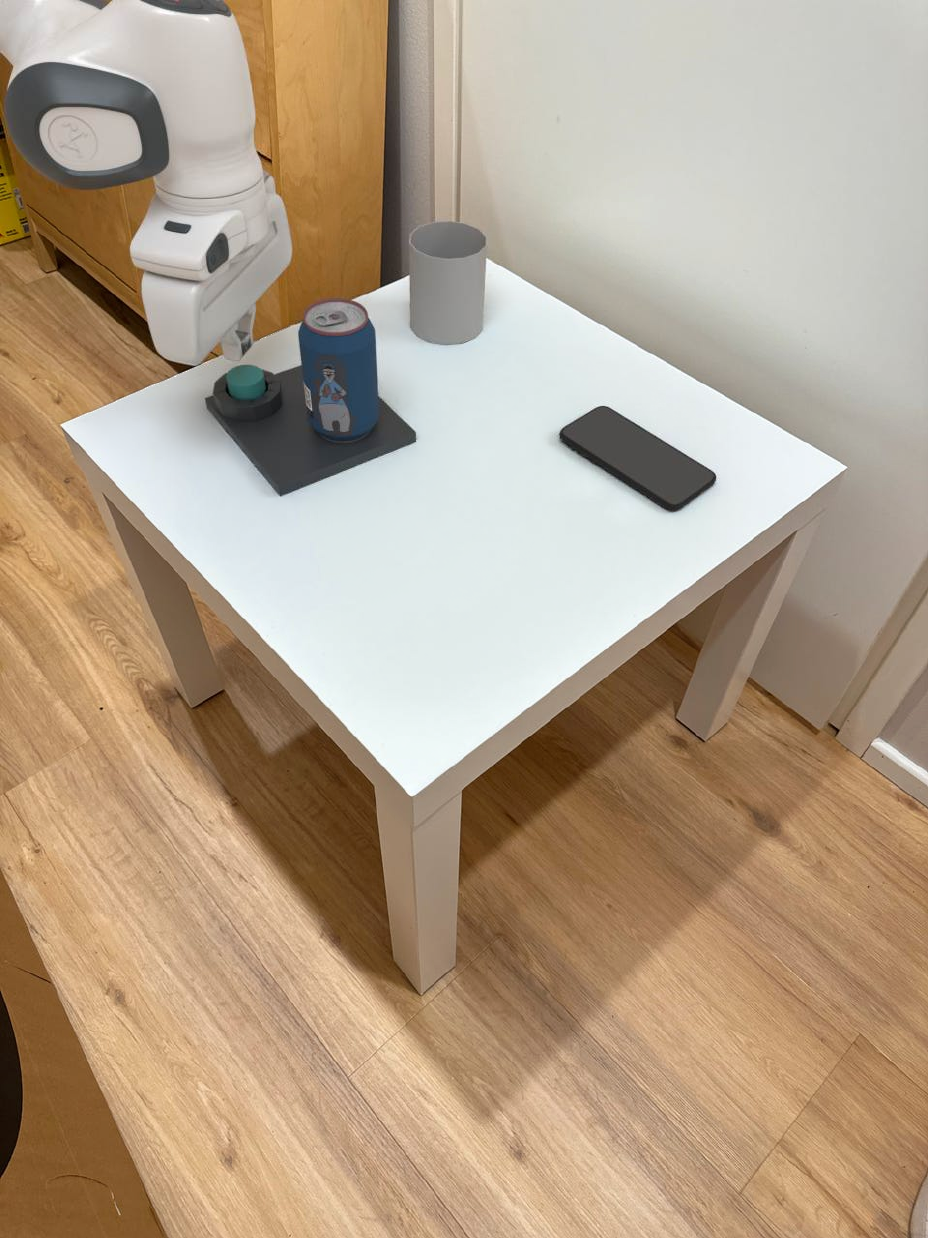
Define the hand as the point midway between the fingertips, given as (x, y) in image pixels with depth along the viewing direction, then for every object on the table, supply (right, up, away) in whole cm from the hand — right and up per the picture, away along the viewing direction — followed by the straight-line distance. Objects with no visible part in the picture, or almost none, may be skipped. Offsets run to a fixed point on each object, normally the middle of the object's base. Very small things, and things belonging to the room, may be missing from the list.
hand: (239, 352), depth 87 cm
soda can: (+10, -7, +2) cm, 12 cm away
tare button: (0, -3, +3) cm, 4 cm away
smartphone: (+38, -10, +2) cm, 40 cm away
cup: (+20, +8, +17) cm, 27 cm away
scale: (+6, -6, +4) cm, 9 cm away
